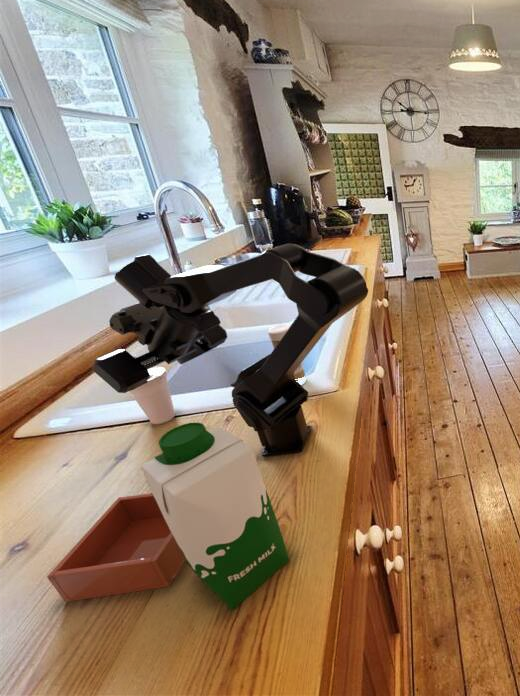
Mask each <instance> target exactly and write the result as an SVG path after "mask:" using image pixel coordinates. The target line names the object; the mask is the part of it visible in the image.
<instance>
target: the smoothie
mask: <svg viewBox="0 0 520 696" xmlns="http://www.w3.org/2000/svg"><path fill="white" fill-rule="evenodd" d="M132 356H133V357H134V358H137V357H138V356H137V355H132ZM148 372H149V374H150V377H149V379H148V380H147V381H148V382H147V383H145V384H143V385H141V386H140V387H138V388H136V389H134V390H132V391H128V393H130V394H131V397H133V399H134V401H135V402H136V403H137V404H138V406H139V407H140V409H141V410H142V412H143V413H144V414H145V416H146V417H147V419H148V420H149V421H150V423H151V424H152V425H161V424H164V423H167V422H169V421H171V420H172V419H173V418H175V417H176V412H175V408H174V407H175V406H174V404H173V400H172V395H171V391H170V387H169V383H168V379H167V376H168V371H167V370H166V368H165V367H161V366H155V367H153V368H151V369H149V370H148Z"/></svg>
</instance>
